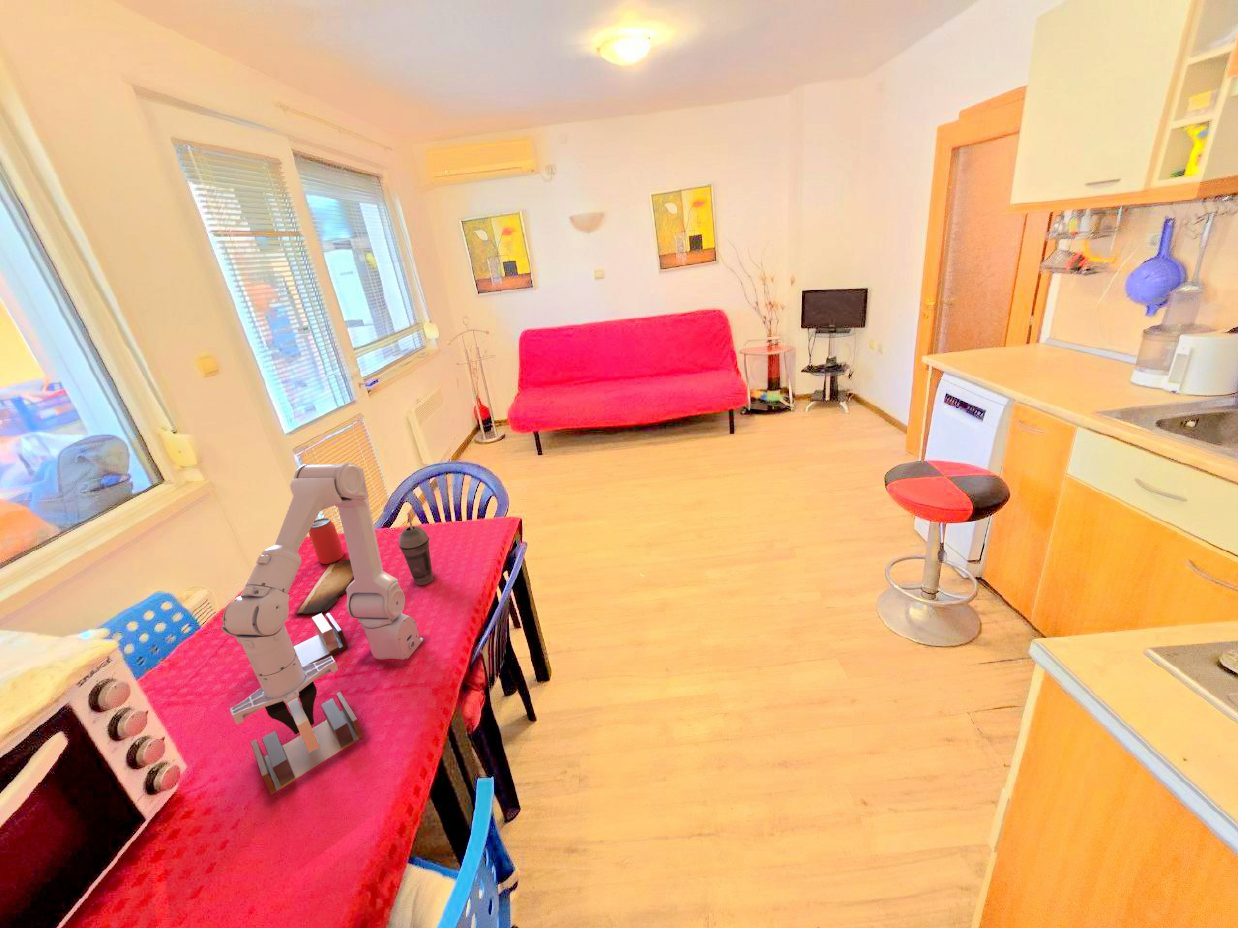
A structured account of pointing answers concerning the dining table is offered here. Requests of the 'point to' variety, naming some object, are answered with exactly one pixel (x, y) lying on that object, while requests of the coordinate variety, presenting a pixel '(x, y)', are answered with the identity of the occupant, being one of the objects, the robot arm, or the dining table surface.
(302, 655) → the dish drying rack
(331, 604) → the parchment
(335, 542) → the beer can
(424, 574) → the beverage cup
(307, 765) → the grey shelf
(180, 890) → the dining table surface
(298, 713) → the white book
